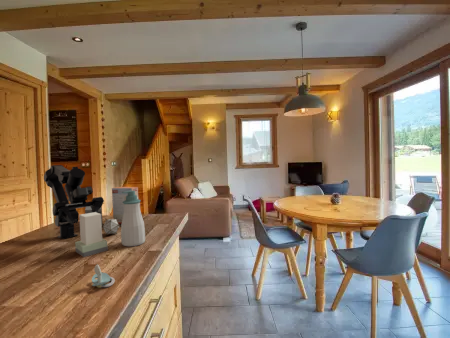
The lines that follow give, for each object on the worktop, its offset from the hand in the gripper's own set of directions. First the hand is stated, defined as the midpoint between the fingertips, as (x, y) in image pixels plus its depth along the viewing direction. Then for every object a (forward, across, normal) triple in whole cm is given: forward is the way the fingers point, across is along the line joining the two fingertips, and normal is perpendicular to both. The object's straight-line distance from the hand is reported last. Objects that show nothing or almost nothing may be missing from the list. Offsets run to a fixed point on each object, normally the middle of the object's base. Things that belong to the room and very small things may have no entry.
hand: (85, 221), depth 103 cm
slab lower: (+12, 0, +4) cm, 13 cm away
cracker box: (-10, +31, +27) cm, 42 cm away
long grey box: (-19, +18, +36) cm, 44 cm away
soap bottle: (+16, +15, 0) cm, 22 cm away
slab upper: (+11, 0, +3) cm, 11 cm away
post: (+9, 0, +1) cm, 9 cm away
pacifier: (+34, -8, -18) cm, 40 cm away
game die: (+1, +15, +16) cm, 22 cm away
